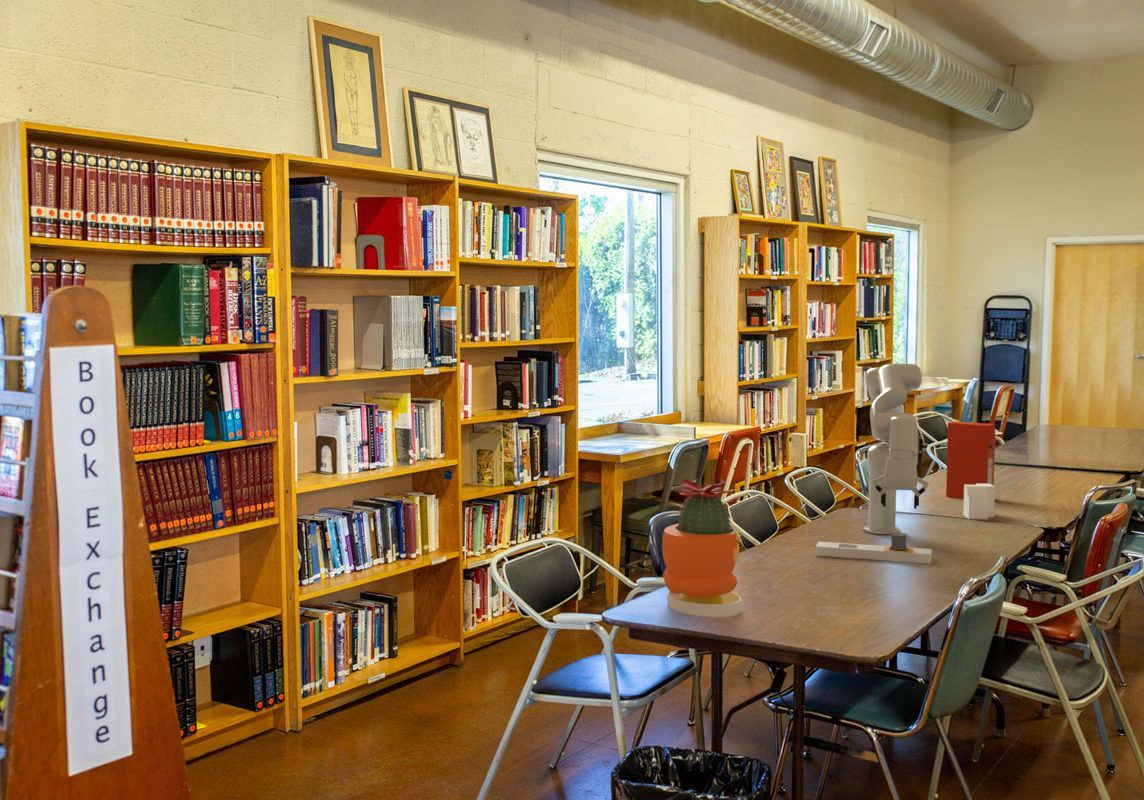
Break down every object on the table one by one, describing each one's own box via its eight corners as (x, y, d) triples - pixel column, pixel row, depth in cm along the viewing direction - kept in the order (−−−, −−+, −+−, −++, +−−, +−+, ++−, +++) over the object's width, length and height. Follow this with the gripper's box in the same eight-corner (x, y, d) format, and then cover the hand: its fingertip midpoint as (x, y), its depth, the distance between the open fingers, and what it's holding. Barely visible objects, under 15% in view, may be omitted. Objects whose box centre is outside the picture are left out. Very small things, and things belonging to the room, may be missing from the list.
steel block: (892, 556, 355) (892, 532, 354) (906, 557, 353) (906, 533, 353) (891, 559, 351) (891, 535, 350) (905, 560, 349) (905, 536, 349)
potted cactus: (690, 594, 309) (691, 472, 306) (756, 608, 294) (758, 480, 291) (641, 609, 294) (642, 480, 291) (708, 625, 278) (709, 490, 275)
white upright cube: (989, 513, 428) (990, 483, 427) (997, 519, 417) (998, 488, 416) (961, 513, 430) (962, 483, 429) (968, 518, 418) (969, 487, 417)
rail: (818, 550, 364) (818, 540, 364) (931, 558, 353) (931, 548, 352) (815, 555, 357) (815, 545, 357) (931, 563, 345) (931, 553, 345)
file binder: (985, 501, 455) (987, 425, 452) (945, 496, 467) (947, 422, 464) (993, 499, 461) (995, 424, 458) (953, 494, 473) (955, 421, 470)
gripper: (929, 454, 350) (928, 506, 352) (874, 451, 356) (872, 503, 358) (929, 457, 343) (927, 511, 345) (872, 455, 349) (871, 507, 350)
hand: (899, 506), depth 351 cm, fingers open, 9 cm apart
